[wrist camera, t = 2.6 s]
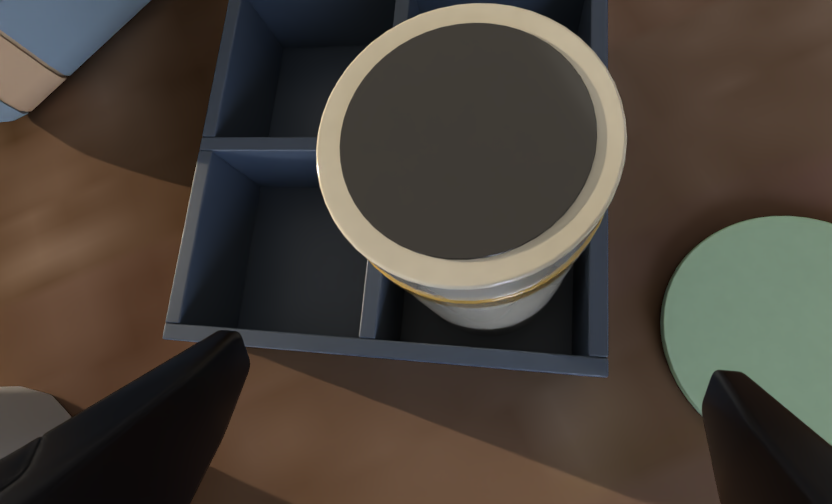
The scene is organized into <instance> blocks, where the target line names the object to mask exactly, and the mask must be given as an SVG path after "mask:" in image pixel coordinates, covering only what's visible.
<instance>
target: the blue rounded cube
mask: <svg viewBox="0 0 832 504" xmlns="http://www.w3.org/2000/svg"><path fill="white" fill-rule="evenodd" d="M150 1H151V0H0V122H7V121H14V120H16V119H18V118H20V117H22V116H24V115H26V114H28V111H32V110H33V109H35V108H36V107H37V106H38V105H39V104H40V103H41V102H42V101H43V100H44V99H45V98H46V97H47V96H49V95H50V94H51V93H52V92H53V91H54V90H55V89H56V88H57V87H58V86H59V85H60V84H62V83H63V82H64V81H65V80H66V79H67V78H66V76H65V75H67V76H70V75H71V74H72V73H73V72H74V71H76V70H77V69H78V68H79V67H80V66H81V65H82V64H83V63H84V62H85V61H86V60H87V59H88V58H90V57H91V56H92V55H93V54H94V53H95V52H96V51H97V50H98V49H99V48H100V47H101V46H103V45H104V44H105V43H106V42H107V41H108V40H109V39H110V38H111V37H112V36H113V35H114V34H115V33H117V32H118V31H119V30H120V29H121V28H122V27H123V26H124V25H125V24H126V23H127V22H128V21H129V20H131V19H132V18H133V17H134V16H135V15H136V14H137V13H138V12H139V11H140V10H141V9H142V8H143V7H145V6H146V5H147V4H148V3H149V2H150Z"/></svg>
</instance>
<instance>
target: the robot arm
mask: <svg viewBox="0 0 832 504" xmlns="http://www.w3.org/2000/svg"><path fill="white" fill-rule="evenodd" d="M249 368H250V360H249V356H248V353H247V350H246V347H245V344H244V341H243V339H242V336H241V334H240V333H239V332H237V331H230V330H219V331H217V332H215V333H213V334H212V335H210V336H208V337H206V338H205V339H203V340H201V341H200V342H198V343H196V344H195V345H193V346H191V347H190V348H188V349H186V350H185V351H183V352H181V353H179V354H178V355H176V356H174V357H173V358H171V359H169V360H168V361H166V362H164V363H163V364H161V365H159V366H158V367H156V368H154V369H152V370H151V371H149V372H147V373H146V374H144V375H142V376H141V377H139V378H137V379H136V380H134V381H132V382H131V383H129V384H127V385H125V386H124V387H122V388H120V389H119V390H117V391H115V392H114V393H112V394H110V395H109V396H107V397H105V398H104V399H102V400H100V401H98V402H97V403H95V404H93V405H92V406H90V407H88V408H87V409H85V410H83V411H82V412H80V413H78V414H77V415H75V416H73V417H71V418H70V419H68V420H66V421H65V422H63V423H61V424H60V425H58V426H56V427H55V428H53V429H51V430H50V431H48V432H46V433H45V434H44V435H43V436H42V437H37V438H36V439H34V440H32V441H31V442H29V443H27V444H26V445H24V446H22V447H21V448H19V449H17V450H16V451H14V452H12V453H10V454H9V455H7V456H5V457H3V458H2V459H0V504H190V503H191V501H192V499H193V497H194V495H195V493H196V491H197V489H198V487H199V485H200V483H201V481H202V479H203V477H204V475H205V473H206V471H207V469H208V467H209V465H210V463H211V461H212V459H213V457H214V455H215V453H216V451H217V449H218V447H219V445H220V443H221V441H222V439H223V436H224V434H225V432H226V429H227V427H228V424H229V422H230V419H231V416H232V414H233V411H234V409H235V406H236V403H237V401H238V398H239V396H240V393H241V390H242V388H243V385H244V382H245V380H246V377H247V375H248V372H249ZM702 417H703V421H704V426H705V431H706V436H707V441H708V446H709V451H710V456H711V461H712V465H713V470H714V475H715V480H716V485H717V489H718V494H719V498H720V502H721V504H832V446H831V445H830V444H829V443H828V442H827V441H825V440H824V439H823V438H822V437H821V436H819V435H818V434H817V433H816V432H815V431H813V430H812V429H811V428H810V427H809V426H807V425H806V424H805V423H804V422H803V421H801V420H800V419H799V418H798V417H797V416H795V415H794V414H793V413H792V412H791V411H789V410H788V409H787V408H786V407H785V406H783V405H782V404H781V403H780V402H778V401H777V400H776V399H775V398H774V397H772V396H771V395H770V394H769V393H768V392H766V391H765V390H764V389H763V388H762V387H760V386H759V385H758V384H757V383H756V382H754V381H753V380H752V379H751V378H750V377H748V376H747V375H746V374H744V373H743V372H740V371H731V370H716V371H714V372H713V374H712V376H711V379H710V381H709V384H708V387H707V390H706V393H705V396H704V399H703V402H702Z"/></svg>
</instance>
